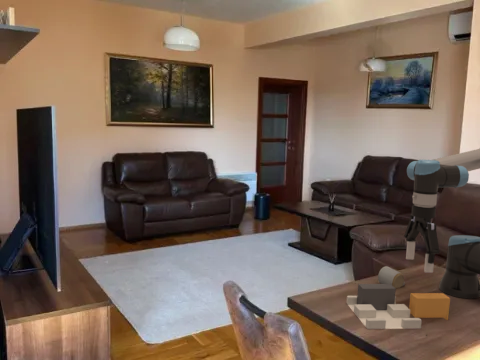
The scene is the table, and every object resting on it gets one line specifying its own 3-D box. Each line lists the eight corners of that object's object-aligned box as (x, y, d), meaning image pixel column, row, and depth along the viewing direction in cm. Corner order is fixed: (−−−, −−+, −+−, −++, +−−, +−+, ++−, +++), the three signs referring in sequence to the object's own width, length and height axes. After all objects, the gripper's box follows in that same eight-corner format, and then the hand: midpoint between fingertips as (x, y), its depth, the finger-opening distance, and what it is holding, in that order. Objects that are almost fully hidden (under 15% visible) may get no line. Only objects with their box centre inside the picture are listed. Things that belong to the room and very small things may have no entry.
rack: (393, 305, 162) (394, 295, 161) (420, 331, 142) (421, 320, 142) (346, 305, 160) (346, 295, 160) (367, 331, 140) (368, 320, 140)
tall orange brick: (440, 314, 156) (443, 293, 155) (447, 320, 151) (450, 298, 150) (408, 314, 154) (410, 293, 153) (414, 320, 150) (416, 298, 149)
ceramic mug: (392, 291, 175) (394, 273, 174) (376, 284, 182) (378, 267, 181) (409, 287, 181) (411, 269, 180) (393, 281, 188) (395, 263, 187)
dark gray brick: (388, 304, 160) (390, 283, 159) (393, 310, 155) (395, 288, 154) (356, 305, 158) (358, 283, 157) (361, 310, 154) (362, 288, 153)
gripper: (397, 198, 161) (393, 254, 164) (431, 212, 136) (425, 278, 139) (417, 198, 161) (412, 254, 164) (455, 213, 137) (448, 278, 140)
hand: (418, 265), depth 152 cm, fingers open, 13 cm apart
